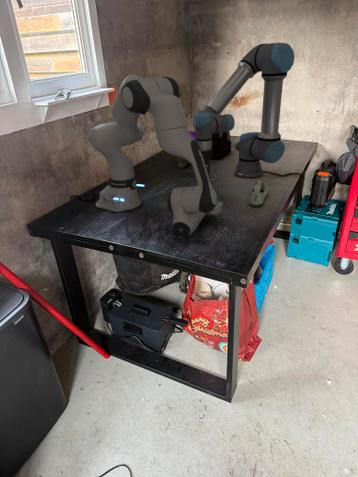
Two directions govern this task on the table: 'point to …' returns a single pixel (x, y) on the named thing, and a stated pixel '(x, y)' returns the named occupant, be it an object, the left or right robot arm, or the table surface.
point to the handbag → (221, 145)
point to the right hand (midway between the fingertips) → (204, 194)
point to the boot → (182, 162)
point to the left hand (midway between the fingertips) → (203, 198)
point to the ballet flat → (258, 193)
